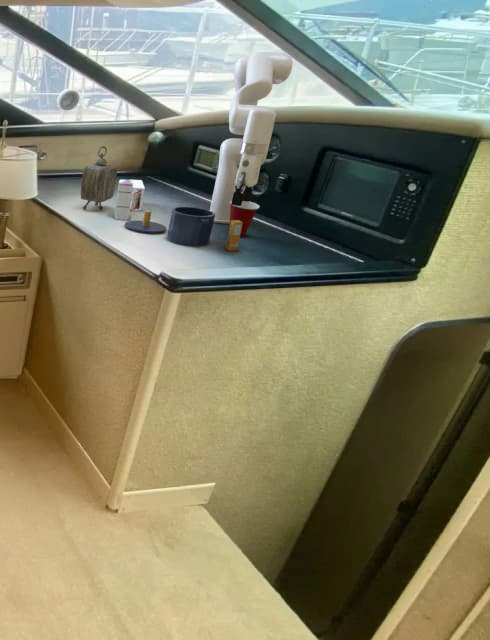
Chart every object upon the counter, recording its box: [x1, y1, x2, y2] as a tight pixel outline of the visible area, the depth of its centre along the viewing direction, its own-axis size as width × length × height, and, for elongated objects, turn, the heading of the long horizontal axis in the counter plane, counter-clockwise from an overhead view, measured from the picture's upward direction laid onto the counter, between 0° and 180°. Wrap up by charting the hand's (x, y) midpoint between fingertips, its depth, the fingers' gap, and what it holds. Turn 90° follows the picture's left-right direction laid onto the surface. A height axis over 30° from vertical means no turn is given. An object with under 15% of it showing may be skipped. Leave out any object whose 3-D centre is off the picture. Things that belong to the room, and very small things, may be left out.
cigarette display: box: [128, 179, 146, 212], centre depth 261 cm, size 20×6×9 cm, turn 172°
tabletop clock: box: [80, 145, 118, 211], centre depth 248 cm, size 14×9×25 cm, turn 144°
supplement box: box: [224, 220, 243, 252], centre depth 207 cm, size 3×3×10 cm
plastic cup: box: [228, 200, 261, 238], centre depth 225 cm, size 11×11×12 cm
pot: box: [166, 206, 215, 247], centre depth 215 cm, size 15×20×10 cm
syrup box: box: [114, 179, 134, 221], centre depth 239 cm, size 6×6×14 cm
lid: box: [124, 209, 167, 234], centre depth 228 cm, size 16×16×7 cm
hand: (240, 203), depth 202 cm, fingers open, 9 cm apart
